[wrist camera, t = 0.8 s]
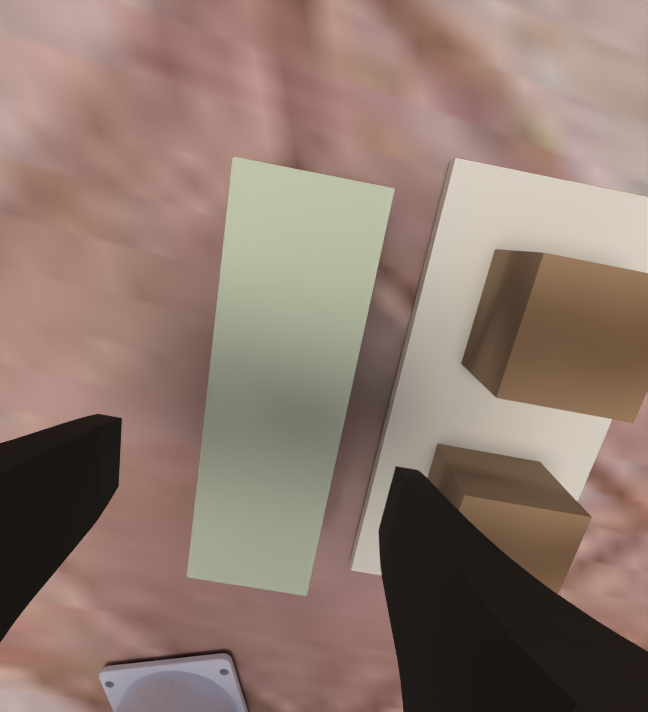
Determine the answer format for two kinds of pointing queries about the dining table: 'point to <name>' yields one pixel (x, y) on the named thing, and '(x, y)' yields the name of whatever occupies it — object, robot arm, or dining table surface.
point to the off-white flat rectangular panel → (456, 316)
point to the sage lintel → (281, 369)
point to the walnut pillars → (546, 393)
